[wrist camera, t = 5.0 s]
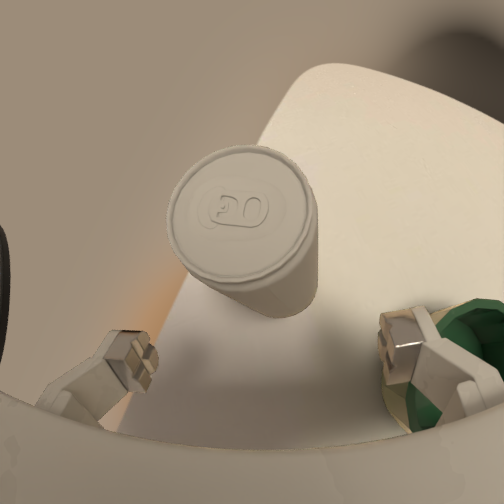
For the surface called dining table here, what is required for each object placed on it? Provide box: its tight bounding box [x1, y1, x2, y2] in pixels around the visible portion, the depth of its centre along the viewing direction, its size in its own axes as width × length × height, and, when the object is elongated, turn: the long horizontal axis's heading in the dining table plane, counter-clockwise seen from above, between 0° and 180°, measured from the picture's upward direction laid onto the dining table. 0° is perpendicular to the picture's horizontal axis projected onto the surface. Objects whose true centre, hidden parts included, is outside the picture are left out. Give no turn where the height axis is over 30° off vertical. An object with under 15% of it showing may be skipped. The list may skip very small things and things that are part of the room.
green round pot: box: [381, 298, 504, 434], centre depth 13 cm, size 8×8×6 cm
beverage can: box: [166, 145, 318, 318], centre depth 14 cm, size 5×5×12 cm
